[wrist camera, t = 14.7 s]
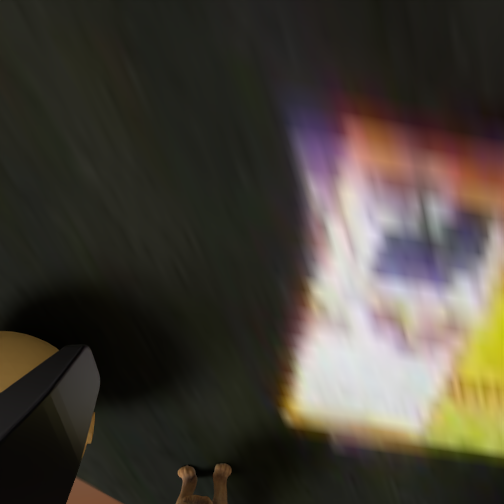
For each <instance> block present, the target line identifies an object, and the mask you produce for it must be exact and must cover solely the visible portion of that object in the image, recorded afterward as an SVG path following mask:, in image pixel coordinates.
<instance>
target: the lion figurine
mask: <svg viewBox="0 0 504 504" xmlns="http://www.w3.org/2000/svg"><path fill="white" fill-rule="evenodd" d="M230 474H231V467H230V466H229V465H228V464H225V463H219V464H217V465H216V466H215V471H214V473H213V482H214V497H213V501H211V500H210V498H209V497H207V496H203V497H202V496H199V495H193V492H194V490H195V488H196V484H197V476H196V472H195V469H194V468H193V467H191V466H188V465H187V466H184V467H182V468H180V469H179V470H178V475H179V476H180V477H181V478H182V479H183V485H182V490H181V493H180V495H179V497H178V500H177V502H176V504H227V488H226V483H227V478H228V476H229V475H230Z"/></svg>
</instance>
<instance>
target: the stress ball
mask: <svg viewBox="0 0 504 504" xmlns="http://www.w3.org/2000/svg"><path fill="white" fill-rule="evenodd" d="M57 351H59V350H58V349H57V348H56V347H54V346H52V345H51V344H49V343H48V342H46V341H43V340H41V339H39V338H36V337H33V336H30V335H27V334H23V333H18V332H11V331H0V393H1V392H2V391H4V390H5V389H6V388H8V387H9V386H11V385H12V384H13V383H15V382H16V381H17V380H19V379H20V378H22V377H23V376H24V375H26V374H27V373H28V372H30V371H31V370H33V369H34V368H35V367H37V366H38V365H39V364H41V363H42V362H43V361H45V360H46V359H48V358H49V357H50V356H52V355H53V354H54V353H56V352H57ZM94 420H95V412H93V416H92V420H91V424H90V428H89V432H88V436H87V440H86V444H85V448H86V445H87V443H91V441H92V437H93V430H94ZM85 448H84V452H85ZM84 452H83V455H84ZM82 457H83V456H82Z"/></svg>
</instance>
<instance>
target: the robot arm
mask: <svg viewBox="0 0 504 504" xmlns="http://www.w3.org/2000/svg"><path fill="white" fill-rule="evenodd" d="M99 388H100V375H99V372H98V368H97V365H96V362H95V359H94V356H93V353H92V351H91V348H90V347H89V346H88V345H85V344H80V345H66V346H64V347H63V348H61V349H60V350H59V351H57V352H56V353H54V354H53V355H52V356H50V357H49V358H48V359H46V360H45V361H43V362H42V363H41V364H39V365H38V366H37V367H35V368H34V369H33V370H31V371H30V372H28V373H27V374H26V375H24V376H23V377H22V378H20V379H19V380H17V381H16V382H15V383H13V384H12V385H11V386H9V387H8V388H6V389H5V390H4V391H2V392H1V393H0V504H66V502H67V500H68V496H69V494H70V491H71V488H72V486H73V483H74V480H75V478H76V475H77V472H78V469H79V466H80V463H81V459H82V456H83V452H84V448H85V444H86V440H87V436H88V432H89V428H90V424H91V420H92V416H93V412H94V408H95V404H96V400H97V396H98V392H99Z"/></svg>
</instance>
